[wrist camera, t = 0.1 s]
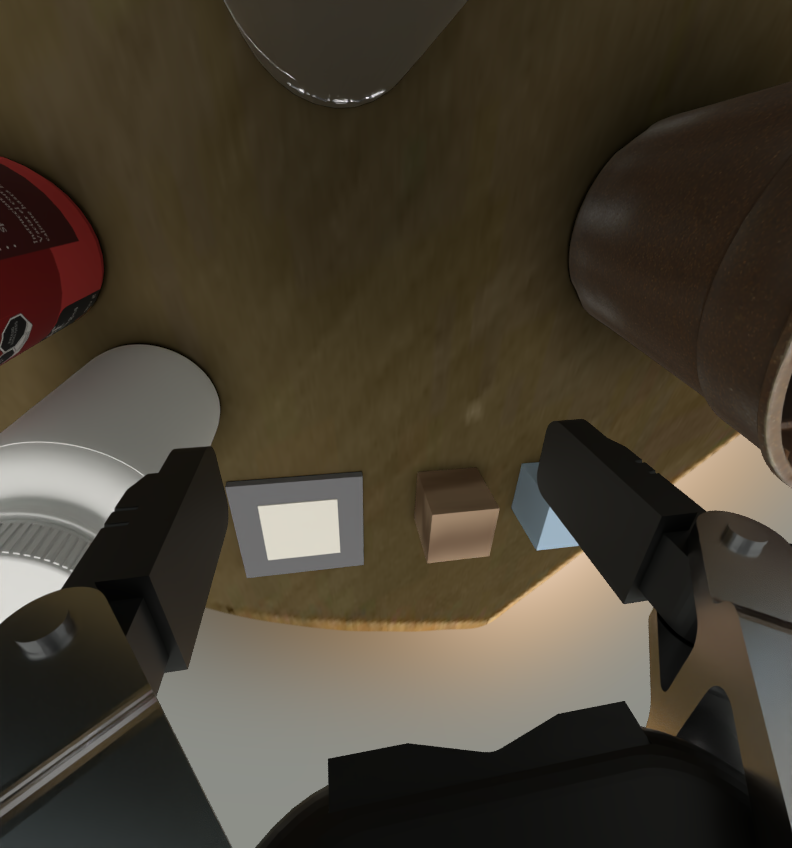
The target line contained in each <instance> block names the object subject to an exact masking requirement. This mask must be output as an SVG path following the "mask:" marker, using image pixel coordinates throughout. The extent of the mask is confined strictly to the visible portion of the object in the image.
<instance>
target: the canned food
mask: <svg viewBox="0 0 792 848" xmlns="http://www.w3.org/2000/svg"><path fill="white" fill-rule="evenodd" d="M103 274H104V264H103V255H102V251H101V248H100V245H99V241H98V239H97V237H96V235H95V232H94V230H93V228H92V226H91V224H90V223H89V221H88V220H87V219H86V217H85V216H84V214H83V213H82V211H81V210H80V209H79V208H78V206H77V205H76V204H75V203H74V202H73V201H72V200H71V199H70V198H69V197H68V195H66V194H65V193H64V192H63V191H62V190H60V189H59V188H58V187H57V186H55V185H54V184H53V183H52V182H50V181H49V180H47V179H45V178H44V177H42V176H40V175H39V174H37V173H36V172H34V171H32V170H31V169H29V168H27V167H25V166H23V165H21V164H19V163H16V162H14V161H12V160H9V159H7V158H4V157H0V365H2V364H4V363H5V362H7V361H9V360H10V359H12V358H14V357H15V356H17V355H19V354H21V353H22V352H24V351H26V350H27V349H29V348H31V347H32V346H34V345H36V344H37V343H39V342H41V341H42V340H44V339H46V338H47V337H49V336H51V335H53V334H54V333H56V332H58V331H59V330H61V329H63V328H64V327H66V326H68V325H69V324H71V323H73V322H74V321H76V320H78V319H79V318H80V317H82V316H83V315H84V314H85V313H87V312H88V311H89V309H90V308H91V307H92V305H93V304H94V303H95V301H96V299H97V296H98V294H99V291H100V288H101V285H102V282H103Z"/></svg>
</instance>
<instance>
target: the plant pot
mask: <svg viewBox="0 0 792 848" xmlns="http://www.w3.org/2000/svg"><path fill="white" fill-rule="evenodd" d="M569 272H570V278H571V281H572V283H573V285H574V287H575V289H576V291H577V294H578V296H579V299H580V301H581V304H582V306H583V308H584V309H585V310H586V311H587V312H588V313H589V314H590V315H591V316H593V317H594V318H595V319H597V320H598V321H600V322H601V323H603V324H604V325H606V326H607V327H609V328H610V329H612V330H613V331H614V332H616V333H617V334H618V335H620V336H621V337H623V338H624V339H625V340H627V341H628V342H629V343H631V344H632V345H634V346H635V347H636V348H638V349H639V350H641V351H642V352H644V353H645V354H646V355H648V356H649V357H650V358H652V359H653V360H654V361H656V362H657V363H658V364H660V365H661V366H663V367H664V368H665V369H667V370H668V371H669V372H671V373H672V374H674V375H675V376H676V377H678V378H679V379H680V380H682V381H683V382H684V383H686V384H687V385H689V386H690V387H691V388H693V389H694V390H695V391H697V392H698V393H699V394H701V395H702V396H704V397H705V399H706V401H707V402H708V404H709V406H710V407H711V408H712V410H713V411H714V412H715V413H716V414H717V415H718V416H719V417H720V418H721V419H722V420H723V421H725V422H726V423H727V424H729V425H730V426H731V427H733V428H734V429H735V430H737V431H738V432H739V433H740V434H742V435H743V436H744V437H745V438H747V439H748V440H749V441H751V442H752V443H753V444H754V445H756V446H757V447H758V448H759V449H760V450H761V453H762V456H763V458H764V460H765V462H766V464H767V465H768V467H769V468H770V470H771V471H772V472H773V473H774V474H775V475H776V476H777V477H778V478H779V479H780V480H781V481H783V482H784V483H785V484H786V485H788V486H789V487H791V488H792V81H790V82H787V83H783V84H780V85H777V86H773V87H770V88H767V89H763V90H760V91H756V92H753V93H749V94H746V95H742V96H739V97H736V98H732V99H729V100H725V101H722V102H719V103H715V104H712V105H708V106H704V107H701V108H698V109H694V110H690V111H687V112H683V113H680V114H677V115H674V116H670V117H668V118H665V119H663V120H660V121H658V122H656V123H654V124H653V125H651V126H650V127H649V128H648V129H647V130H646V131H644V132H643V133H642V134H640V135H639V136H638V137H636V138H635V139H634V140H632V141H631V142H630V143H629V144H627V145H626V146H625V147H623V148H622V149H621V150H619V151H618V152H616V153H615V155H614V156H613V157H612V158H611V159H610V160H609V161H608V163H607V164H606V165H605V166H604V168H603V169H602V170H601V172H600V173H599V175H598V176H597V177H596V179H595V181H594V182H593V184H592V186H591V187H590V189H589V191H588V193H587V195H586V197H585V199H584V201H583V204H582V206H581V208H580V211H579V213H578V216H577V219H576V222H575V226H574V230H573V233H572V238H571V243H570V251H569Z"/></svg>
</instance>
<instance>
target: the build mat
mask: <svg viewBox="0 0 792 848" xmlns="http://www.w3.org/2000/svg"><path fill="white" fill-rule="evenodd" d="M225 488H226V493H227V497H228V501H229V505H230V509H231V513H232V518H233V522H234V526H235V530H236V534H237V538H238V543H239V547H240V551H241V555H242V559H243V563H244V568H245V572H246V576H247V578H252V577H260V576H269V575H278V574H287V573H295V572H304V571H313V570H322V569H330V568H339V567H348V566H357V565H364V554H363V481H362V472H351V473H338V474H325V475H312V476H299V477H286V478H273V479H260V480H247V481H234V482H227V483H226V486H225Z"/></svg>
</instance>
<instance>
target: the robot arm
mask: <svg viewBox="0 0 792 848" xmlns="http://www.w3.org/2000/svg"><path fill="white" fill-rule="evenodd" d="M467 1H468V0H224V2H225V4H226V6H227V7H228V9H229V11H230V13H231V15H232V17H233V19H234V21H235V23H236V25H237V27H238V29H239V31H240V33H241V35H242V36H243V38H244V39H245V41H246V42H247V44H248V46H249V47H250V49H251V50H252V52H253V53H254V55H255V56H256V58H257V60H258V61H259V62H260V63H261V64H262V65H263V66H264V67H265V69H266V70H267V71H268V72H269V73H270V74H271V75H272V76H273V77H274V78H275V80H277V81H278V82H279V83H281V84H282V85H283V86H284V87H286V88H287V89H288V90H290V91H291V92H292V93H294V94H295V95H297V96H299V97H301V98H303V99H306V100H308V101H310V102H312V103H314V104H317V105H322V106H327V107H332V108H347V107H357V106H360V105H363V104H366V103H369V102H371V101H374V100H376V99H377V98H379V97H380V96H382V95H383V94H385V93H386V92H388V91H389V90H391V89H392V88H393V87H394V86H395V85H396V84H397V83H398V82H399V81H400V79H401V78H402V77H403V76H404V75H405V74H406V73H407V72H408V71H409V69H410V68H411V67H412V66H413V65H414V64H415V63H416V62H417V61H418V59H419V58H420V57H421V56H422V55H423V53H424V52H425V51H426V50H427V49H428V47H429V46H430V45H431V44H432V43H433V41H434V40H435V39H436V38H437V37H438V35H439V34H440V33H441V32H442V31H443V30H444V28H445V27H446V26H447V25H448V24H449V22H450V21H451V20H452V19H453V18H454V16H455V15H456V14H457V13H458V12H459V10H460V9H461V8H462V7H463V6H464V4H465V3H466V2H467ZM537 484H538V488H539V491H540V493H541V495H542V497H543V498H544V500H545V501H546V502H547V504H548V505H549V506H550V508H551V509H552V510H553V512H554V513H555V514H556V515H557V517H558V518H559V519H560V521H561V522H562V523H563V525H564V526H565V527H566V529H567V530H568V531H569V533H570V534H571V535H572V537H573V538H574V539H575V541H576V542H577V543H578V545H579V546H580V547H581V549H582V550H583V551H584V552H585V554H586V555H587V556H588V558H589V559H590V560H591V562H592V563H593V564H594V566H595V567H596V568H597V570H598V571H599V572H600V574H601V575H602V576H603V577H604V579H605V580H606V582H607V583H608V584H609V586H610V587H611V588H612V589H613V591H614V592H615V593H616V595H617V596H618V597H619V599H620V600H621V601H622V603H623V604H627V603H634V602H641V601H647V600H648V601H649V602H650V603H651V605H652V606H653V609H652V611H651V613H650V616H649V653H650V682H651V683H650V684H651V706H650V713H649V718H648V721H647V725H646V727H642V726H640V725H639V724H638V722H637V720H636V719H635V717H634V715H633V714H632V712H631V711H630V709H629V707H628V706H627V704H626V703H625V701H622V702H617V703H612V704H607V705H602V706H597V707H592V708H587V709H581V710H576V711H571V712H566V713H561V714H557V715H556V716H554V717H552V718H551V719H549V720H547V721H546V722H544V723H542V724H541V725H539V726H538V727H536V728H534V729H533V730H531V731H529V732H528V733H526V734H524V735H523V736H521V737H519V738H518V739H516V740H514V741H513V742H511V743H509V744H508V745H506V746H504V747H503V748H501V749H499V750H497V751H494V752H477V751H468V750H460V749H452V748H442V747H434V746H426V745H417V744H409V743H407V744H402V745H397V746H392V747H387V748H381V749H376V750H371V751H366V752H361V753H356V754H350V755H346V756H340V757H335V758H330V759H328V783H329V785H327V786H326V787H324V788H322V789H320V790H318V791H317V792H315V793H313V794H312V795H310V796H309V797H308V798H306V799H305V800H304V801H302V802H301V803H300V804H299V805H297V806H296V807H294V808H293V809H292V810H291V811H290V812H289V813H287V814H286V815H285V816H284V817H283V818H282V819H281V820H280V821H279V822H278V823H277V824H276V825H275V826H274V827H273V828H272V829H271V830H270V831H269V832H268V833H267V835H266V836H265V837H264V838H263V839H262V840H261V842H260V843H259V844H258V845H257V846H256V847H255V848H792V544H789V543H788V542H787V541H786V540H785V539H784V538H783V537H782V536H780V535H779V534H778V533H776V532H775V531H773V530H772V529H770V528H769V527H767V526H765V525H763V524H761V523H759V522H757V521H755V520H753V519H750V518H748V517H745V516H742V515H739V514H735V513H731V512H725V511H708V512H706V511H705V510H704V509H703V508H701V507H700V506H699V505H698V504H696V503H695V502H694V501H693V500H691V499H690V498H689V497H688V496H686V495H685V494H684V493H683V492H682V491H680V490H679V489H678V488H677V487H675V486H674V485H673V484H672V483H670V482H669V481H668V480H667V479H665V478H664V477H663V476H662V475H660V474H659V473H657V474H656V473H655V470H654V469H653V468H652V467H650V466H649V465H648V464H647V463H645V462H644V463H642V459H640V458H639V457H638V456H637V455H635V454H634V453H633V452H632V451H630V450H629V449H628V448H627V447H625V446H623V445H621V444H619V443H617V442H615V441H613V440H611V439H608V438H607V437H606V436H604V435H603V434H602V433H601V432H599V431H598V430H597V429H596V428H595V427H593V426H592V425H591V424H590V423H589V422H587V421H586V420H584V419H576V420H562V421H553V422H551V423H550V424H549V426H548V428H547V430H546V435H545V439H544V444H543V448H542V453H541V457H540V462H539V466H538V471H537ZM114 509H115V511H114V512H112V513H111V514H110V516H109V517H108V519H107V520H106V522H105V523H104V528H101V529H100V531H99V532H98V534H97V535H96V537H95V538H94V540H93V541H92V543H91V544H90V546H89V547H88V549H87V550H86V552H85V553H84V555H83V556H82V558H81V559H80V561H79V562H78V564H77V566H76V567H75V569H74V570H73V572H72V573H71V575H70V576H69V578H68V579H67V581H66V582H65V584H64V585H63V587H62V588H61V590H58V591H55V592H52V593H49V594H46V595H44V596H42V597H40V598H37V599H35V600H33V601H32V602H30V603H28V604H26V605H25V606H23V607H21V608H20V609H18V610H17V611H15V612H14V613H13V614H11V615H10V616H9V617H7V618H6V619H5V620H4V621H3V622H2V623H1V624H0V848H232V846H231V844H230V842H229V840H228V838H227V836H226V834H225V832H224V830H223V828H222V826H221V824H220V822H219V820H218V819H217V816H216V814H215V812H214V810H213V808H212V806H211V804H210V802H209V801H208V798H207V796H206V795H205V792H204V790H203V788H202V786H201V784H200V782H199V780H198V779H197V777H196V775H195V773H194V771H193V769H192V767H191V765H190V763H189V761H188V759H187V757H186V755H185V753H184V751H183V749H182V747H181V745H180V743H179V741H178V739H177V737H176V735H175V733H174V731H173V729H172V727H171V725H170V723H169V721H168V719H167V717H166V715H165V713H164V711H163V709H162V707H161V705H160V703H159V701H158V699H157V697H156V696H157V693H158V690H159V687H160V684H161V681H162V677H163V675H164V673H167V672H173V671H180V670H186V669H188V667H189V663H190V659H191V656H192V652H193V649H194V645H195V641H196V638H197V634H198V630H199V627H200V623H201V620H202V616H203V613H204V609H205V605H206V602H207V598H208V595H209V591H210V587H211V584H212V580H213V577H214V573H215V570H216V566H217V562H218V559H219V555H220V552H221V548H222V544H223V541H224V537H225V534H226V530H227V525H228V504H227V499H226V495H225V491H224V487H223V483H222V479H221V475H220V471H219V466H218V462H217V458H216V455H215V452H214V450H213V448H212V447H211V446H205V447H192V448H178V449H173V450H172V451H171V452H170V454H169V455H168V457H167V459H166V461H165V462H164V464H163V466H162V467H161V469H160V471H159V472H158V473H151V474H146V475H145V476H144V477H143V478H141V479H140V480H139V481H137V482H136V483H135V484H134V485H132V486H131V487H130V488H128V489H127V490H126V492H125V493H124V495H123V496H122V498H121V499H120V501H119V502H118V504H117V505H116V507H115V508H114Z"/></svg>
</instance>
